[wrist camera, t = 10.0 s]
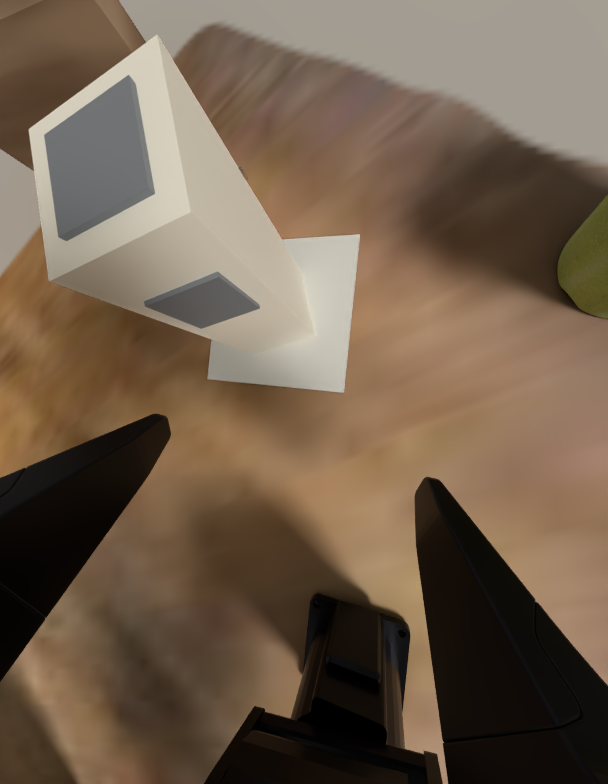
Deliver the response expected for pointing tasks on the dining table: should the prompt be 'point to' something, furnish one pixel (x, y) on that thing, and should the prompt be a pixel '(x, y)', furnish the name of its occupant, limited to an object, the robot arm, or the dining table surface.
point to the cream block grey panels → (161, 211)
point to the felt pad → (329, 316)
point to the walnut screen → (55, 59)
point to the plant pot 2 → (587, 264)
